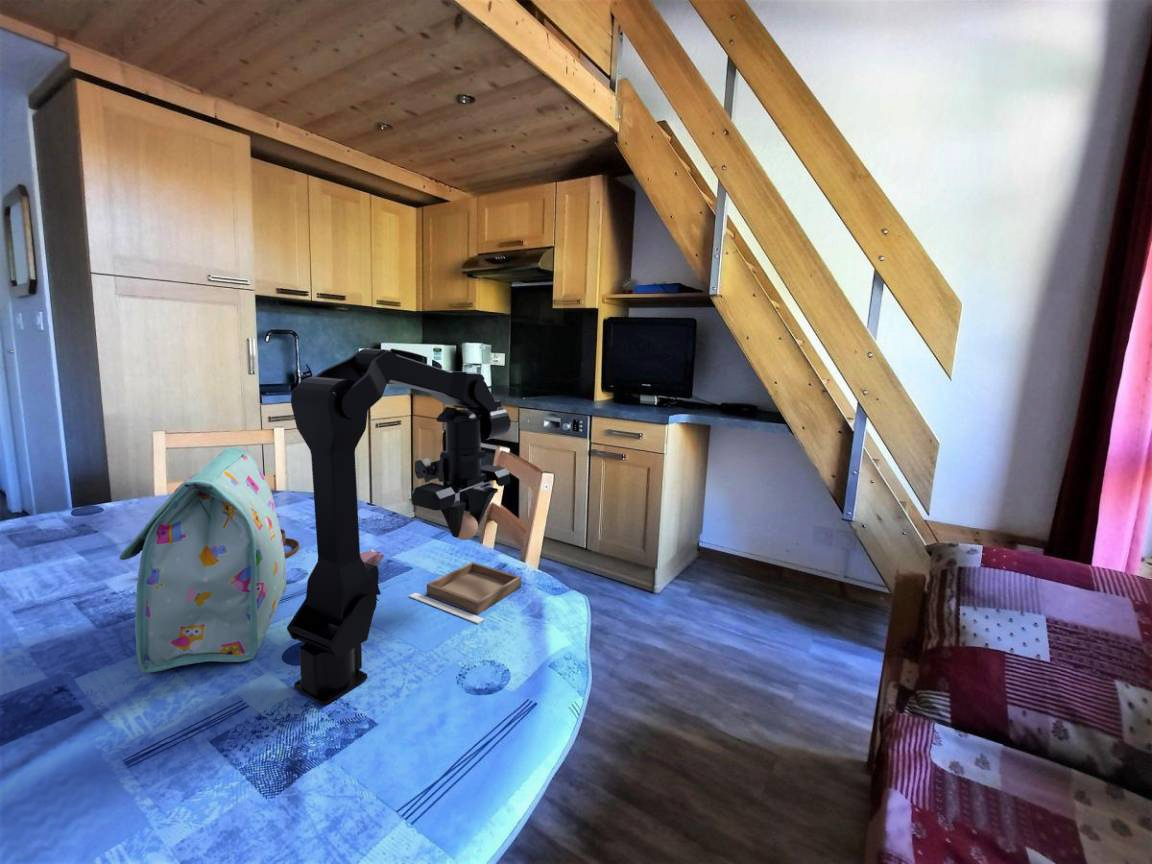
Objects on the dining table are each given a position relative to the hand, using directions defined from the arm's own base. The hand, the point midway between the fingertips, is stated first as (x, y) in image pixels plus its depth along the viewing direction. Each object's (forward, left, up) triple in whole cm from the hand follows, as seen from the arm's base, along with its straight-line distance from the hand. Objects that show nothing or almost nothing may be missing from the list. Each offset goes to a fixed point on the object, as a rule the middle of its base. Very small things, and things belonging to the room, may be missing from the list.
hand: (465, 532), depth 88 cm
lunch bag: (-28, +23, -12) cm, 38 cm away
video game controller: (-7, +20, -12) cm, 24 cm away
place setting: (-12, +49, -13) cm, 52 cm away
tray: (+3, 0, -12) cm, 12 cm away
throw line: (-5, 0, -12) cm, 13 cm away
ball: (0, 0, -1) cm, 1 cm away
